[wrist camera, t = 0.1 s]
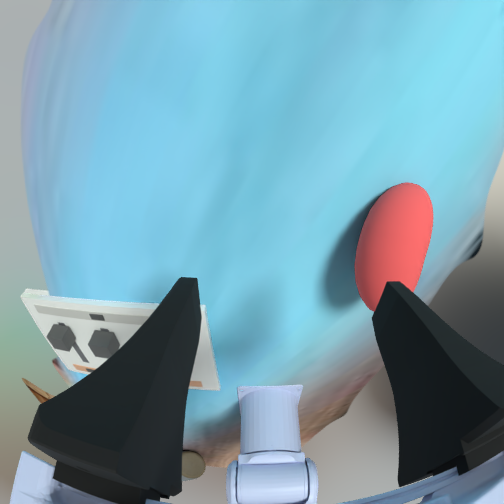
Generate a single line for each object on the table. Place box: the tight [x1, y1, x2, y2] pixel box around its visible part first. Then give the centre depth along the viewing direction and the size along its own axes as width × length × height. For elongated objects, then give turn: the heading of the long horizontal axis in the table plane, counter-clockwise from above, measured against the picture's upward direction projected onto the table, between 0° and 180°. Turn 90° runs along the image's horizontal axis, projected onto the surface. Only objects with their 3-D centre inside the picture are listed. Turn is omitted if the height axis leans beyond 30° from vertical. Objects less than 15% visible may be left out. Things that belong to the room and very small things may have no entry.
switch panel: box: [21, 288, 221, 390], centre depth 28 cm, size 14×22×2 cm, turn 91°
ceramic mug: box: [182, 451, 205, 481], centre depth 49 cm, size 11×8×8 cm
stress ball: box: [355, 183, 433, 312], centre depth 18 cm, size 5×9×6 cm, turn 161°
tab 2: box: [88, 330, 120, 359], centre depth 25 cm, size 2×2×2 cm
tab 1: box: [47, 324, 76, 352], centre depth 25 cm, size 2×2×2 cm
